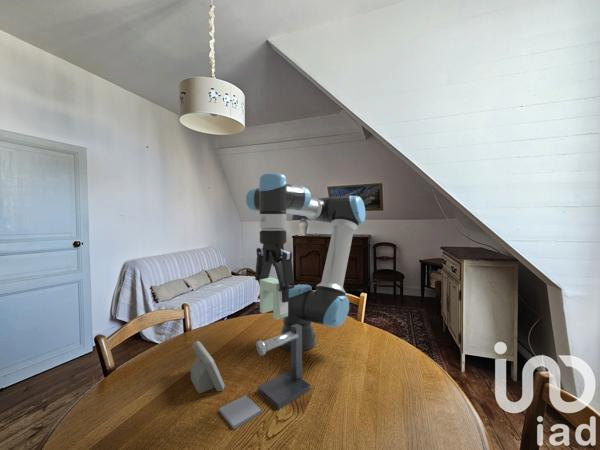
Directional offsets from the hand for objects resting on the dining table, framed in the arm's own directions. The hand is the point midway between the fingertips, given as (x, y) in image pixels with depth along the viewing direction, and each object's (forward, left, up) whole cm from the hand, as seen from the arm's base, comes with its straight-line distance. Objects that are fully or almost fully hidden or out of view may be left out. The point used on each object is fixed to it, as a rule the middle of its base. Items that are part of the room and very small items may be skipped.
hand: (273, 309), depth 75 cm
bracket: (0, 0, -1) cm, 1 cm away
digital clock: (-20, -11, -26) cm, 34 cm away
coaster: (-1, -10, -25) cm, 27 cm away
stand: (0, +3, -25) cm, 25 cm away
